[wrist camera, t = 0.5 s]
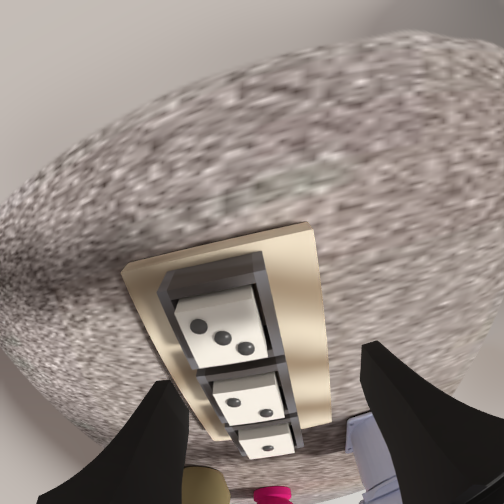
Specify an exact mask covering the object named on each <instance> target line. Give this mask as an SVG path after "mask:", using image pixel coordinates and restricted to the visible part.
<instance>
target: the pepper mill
mask: <svg viewBox="0 0 504 504" xmlns="http://www.w3.org/2000/svg"><path fill="white" fill-rule="evenodd" d="M290 498H291V490H290V488H288V487H283V486H272V487H264V488H260V489H257V490H255V491H254V501H255V502H257V504H293V503H292V502H290V501H289V499H290Z"/></svg>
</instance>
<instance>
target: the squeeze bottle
mask: <svg viewBox="0 0 504 504" xmlns="http://www.w3.org/2000/svg"><path fill="white" fill-rule="evenodd" d="M230 495H231V494H230V492H229V489H228V487H227V484H226V482H225V479H224V477H223V474H222V473H221V472H219V471H217V470H215V469H211V468H206V467H187V468H184V470H183V477H182V504H229V503H230Z"/></svg>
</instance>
